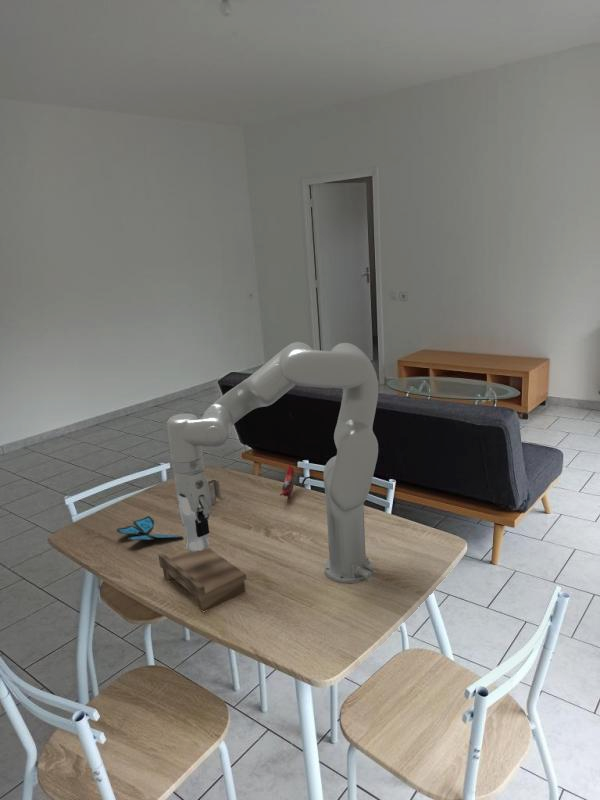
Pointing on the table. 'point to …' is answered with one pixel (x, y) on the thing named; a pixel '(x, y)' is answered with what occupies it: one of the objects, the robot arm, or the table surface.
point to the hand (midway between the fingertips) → (196, 529)
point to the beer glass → (191, 527)
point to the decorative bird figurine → (288, 483)
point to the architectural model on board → (214, 490)
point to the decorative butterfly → (142, 530)
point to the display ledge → (204, 576)
